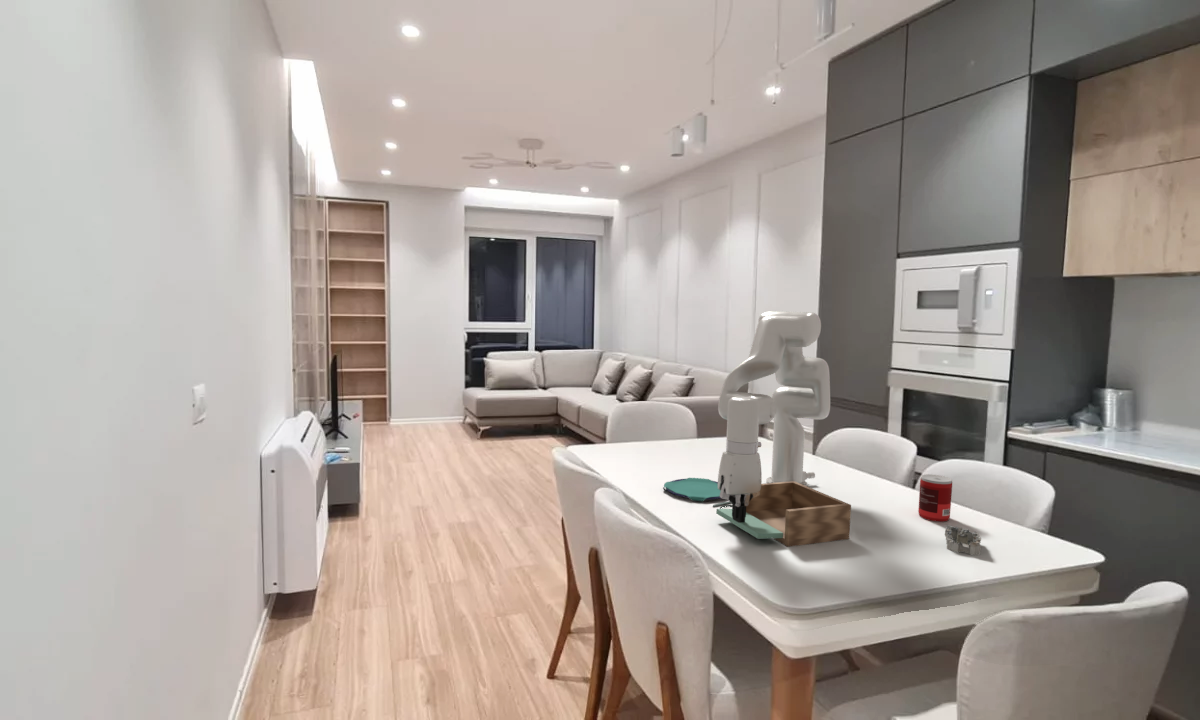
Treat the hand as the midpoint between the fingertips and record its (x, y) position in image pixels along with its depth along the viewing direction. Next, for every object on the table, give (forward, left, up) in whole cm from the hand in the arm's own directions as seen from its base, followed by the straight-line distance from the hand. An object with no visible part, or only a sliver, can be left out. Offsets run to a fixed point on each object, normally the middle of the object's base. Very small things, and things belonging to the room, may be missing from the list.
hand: (738, 520), depth 152 cm
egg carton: (-48, +22, -4) cm, 53 cm away
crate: (-16, 0, -3) cm, 16 cm away
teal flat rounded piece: (-9, -29, -4) cm, 31 cm away
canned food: (-60, +4, -4) cm, 60 cm away
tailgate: (-7, 0, -2) cm, 7 cm away
